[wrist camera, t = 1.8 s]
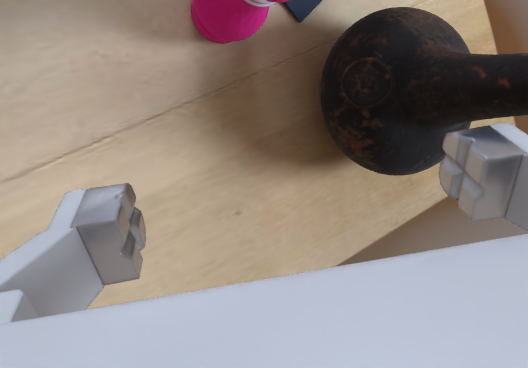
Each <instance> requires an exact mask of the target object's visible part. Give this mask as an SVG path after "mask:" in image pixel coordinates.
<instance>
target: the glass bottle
mask: <svg viewBox="0 0 528 368" xmlns="http://www.w3.org/2000/svg"><path fill="white" fill-rule="evenodd" d="M320 95H321V105H322V111H323V115H324V119H325V122H326V125H327V127H328V130H329V132H330V134H331V136H332V138H333V139H334V141H335V142H336V144H337V145H338V146H339V148H340V149H341V150H342V151H343V152H344V153H345V154H346V155H347V156H348V157H349V158H350V159H352V160H353V161H354V162H356V163H357V164H359V165H361V166H362V167H364V168H366V169H369V170H371V171H374V172H377V173H380V174H386V175H409V174H414V173H418V172H420V171H423V170H426V169H428V168H430V167H432V166H434V165H436V164H437V163H439V162H440V161H442V160H443V159H444V157H445V156H446V155H447V154H446V153H445V151H444V150H443V148H442V147H443V141H444V138H445V136H446V134H447V133H451V132H455V131H461V130H466V129H468V128H469V126H470V124H471V121H476V120H483V119H492V118H500V117H510V116H522V115H528V53H523V54H522V53H521V54H500V55H492V54H491V55H487V54H470V52H469V49H468V47H467V45H466V44H465V42H464V41H463V39H462V38H461V36H460V35H459V34H458V33H457V31H456V30H455V29H454V28H453V27H452V26H451V25H449V24H448V23H447V22H446V21H444V20H443V19H441V18H440V17H438V16H436V15H434V14H432V13H430V12H427V11H424V10H421V9H416V8H409V7H396V8H388V9H383V10H380V11H376V12H374V13H371V14H369V15H367V16H365V17H364V18H362V19H360V20H359V21H357V22H356V23H354V24H353V25H352V26H351V27H349V28H348V29H347V30H346V31H345V32H344V33H343V34H342V36H341V37H340V38H339V39H338V41H337V42H336V43H335V45H334V46H333V48H332V50H331V52H330V54H329V56H328V58H327V60H326V63H325V66H324V69H323V74H322V79H321V93H320Z"/></svg>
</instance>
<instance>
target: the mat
mask: <svg viewBox="0 0 528 368" xmlns="http://www.w3.org/2000/svg"><path fill="white" fill-rule="evenodd" d="M321 1H322V0H289V1H286V2H283V3H284V4H285V5H286V7H287V8H288V9H289V11H290V12H291V13H292V15H293V16H294V17H295V18H296V20H297V21H298V22H299V23H300V22H302V21H303V19H304V18H305V17H306V16H307V15H308V14H309V13H310V12H311V11H312V10H313V9H314V8H315V7H316V6H317V5H318V4H319V3H320V2H321Z"/></svg>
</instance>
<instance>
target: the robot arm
mask: <svg viewBox="0 0 528 368" xmlns="http://www.w3.org/2000/svg"><path fill="white" fill-rule="evenodd" d="M442 148H443V150H444V151H445V153H446V154H447V155H446V156H445V157H444V159H443V160H442V161H441V162H440V167H439V178H440V184H441V186H442V188H443V190H444V191H445V193H446V194H447V195H448V196H449V197H452V198H454V199H456V200H459V202H458V207H459V209H460V210H461V211H462V212H463V213H464V214H465V215H466V217H467V218H468V219H469V220H470V221H471V222H478V221H485V220H492V219H499V218H505V219H506V220H507V221H510V222H511V223H513V224H516V225H518V226H519V227H521V228H523V229H525V230H527V231H528V135H527V134H525V133H524V132H522V131H521V130H519V129H518V128H516V127H515V126H513V125H512V124H510V123H505V122H503V123H498V124H493V125H488V126H483V127H477V128H472V129H466V130H461V131H455V132H451V133H447V134H446V136H445V138H444V141H443V147H442ZM135 200H136V196H135V193H134V191H133V188H132V186H131V185H130V184H129V183H124V184H117V185H110V186H103V187H96V188H89V189H87V188H86V189H81V190H75V191H70V192H67V193H65V194H64V196H63V198H62V200H61V202H60V204H59V206H58V208H57V210H56V212H55V214H54V216H53V218H52V220H51V222H50V224H49V226H48V228H47V230H46V232H42V233H38V234H37V235H36V236H34V237H33V238H31V239H30V240H28V241H27V242H26V243H24V244H23V245H21V246H20V247H19V248H17V249H16V250H14V251H13V252H12V253H10V254H9V255H7V256H6V257H5V258H3V259H2V260H0V368H528V234H524V235H518V236H512V237H506V238H500V239H494V240H489V241H483V242H477V243H471V244H465V245H459V246H454V247H448V248H442V249H436V250H431V251H425V252H419V253H413V254H407V255H401V256H396V257H390V258H384V259H378V260H372V261H367V262H361V263H355V264H349V265H343V266H337V267H331V268H326V269H320V270H314V271H308V272H302V273H296V274H291V275H285V276H279V277H273V278H267V279H261V280H256V281H250V282H244V283H238V284H232V285H227V286H221V287H215V288H209V289H203V290H197V291H192V292H186V293H180V294H174V295H168V296H162V297H157V298H151V299H145V300H139V301H133V302H127V303H122V304H116V305H110V306H104V307H98V308H93V309H87V307H88V306H89V305H90V304H91V303H92V301H93V300H94V299H95V298H96V297H97V295H98V294H99V293H100V292H101V291H102V289H103V288H104V285H110V284H115V283H120V282H125V281H130V280H135V279H139V277H140V271H141V266H142V260H143V259H142V256H141V253H140V251H141V250H142V249H143V248H144V247H145V242H146V228H145V223H144V219H143V216H142V213H141V211H140V210H138V209H137V208H136V207H134V204H135ZM86 309H87V310H86Z"/></svg>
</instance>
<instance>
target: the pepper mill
mask: <svg viewBox="0 0 528 368" xmlns="http://www.w3.org/2000/svg"><path fill="white" fill-rule="evenodd" d="M286 1H289V0H192V5H191V13H192V18H193V21H194V24H195V26H196V27H197V29H198V30H199V32H200V33H201V34H202V35H203V36H204V37H206V38H207V39H209V40H211V41H213V42H217V43H229V42H232V41H240V40H243V39H246V38H248V37H250V36H251V35H253V34H254V33H255V32H256V31H257V30H258V29H259V28H260V27H261V26H262V25H263V23H264V21H265V19H266V16H267V13H268V10H269V6H271V5H274V4H275V3H277V2H286Z"/></svg>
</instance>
